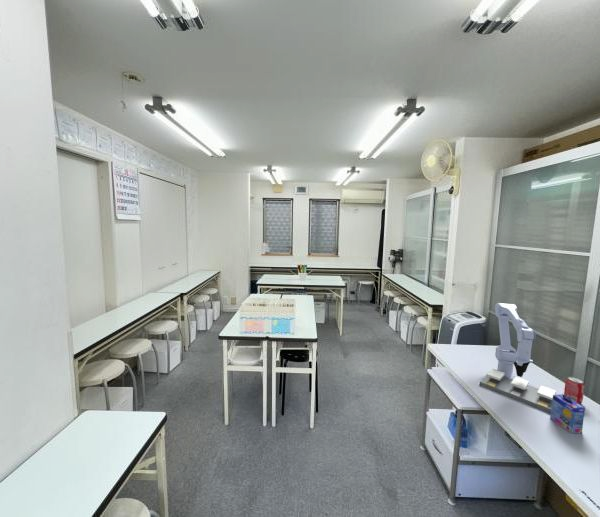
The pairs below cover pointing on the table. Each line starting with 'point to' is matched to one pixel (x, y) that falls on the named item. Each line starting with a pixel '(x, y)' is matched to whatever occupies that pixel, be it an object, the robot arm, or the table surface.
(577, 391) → the soda can
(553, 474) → the table surface
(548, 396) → the switch
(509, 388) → the switch panel
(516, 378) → the switch
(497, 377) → the switch
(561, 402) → the ink cartridge box
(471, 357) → the table surface
